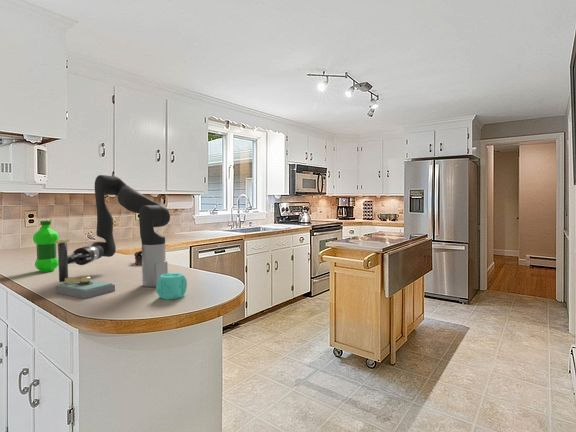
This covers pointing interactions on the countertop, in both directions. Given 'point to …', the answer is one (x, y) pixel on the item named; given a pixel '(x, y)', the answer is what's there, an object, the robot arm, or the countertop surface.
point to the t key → (64, 265)
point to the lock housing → (85, 289)
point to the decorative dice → (171, 286)
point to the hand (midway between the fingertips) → (63, 262)
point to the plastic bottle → (46, 247)
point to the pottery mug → (138, 257)
